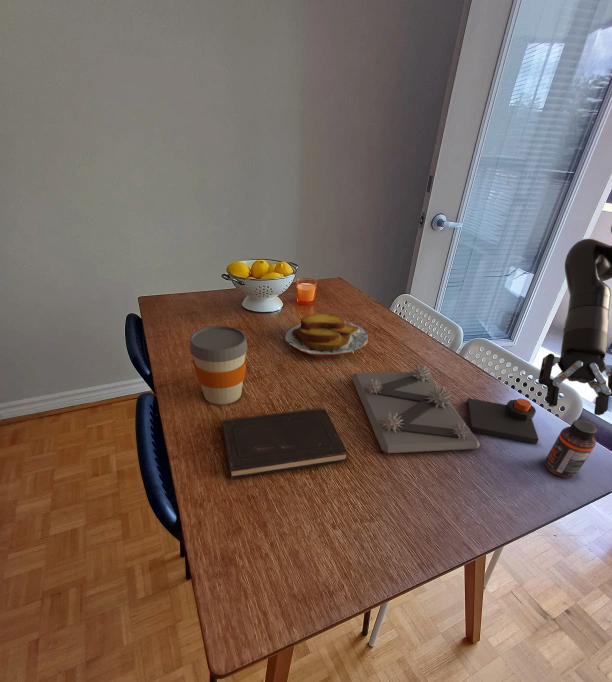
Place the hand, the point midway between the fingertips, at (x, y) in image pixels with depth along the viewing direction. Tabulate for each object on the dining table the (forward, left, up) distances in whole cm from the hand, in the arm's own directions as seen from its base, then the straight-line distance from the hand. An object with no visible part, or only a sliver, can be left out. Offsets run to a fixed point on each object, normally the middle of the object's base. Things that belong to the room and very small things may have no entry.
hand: (575, 410), depth 79 cm
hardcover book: (+56, +16, -11) cm, 59 cm away
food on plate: (+57, -33, -11) cm, 67 cm away
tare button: (+5, -11, -8) cm, 15 cm away
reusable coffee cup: (+75, +3, -11) cm, 76 cm away
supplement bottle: (0, +6, -11) cm, 12 cm away
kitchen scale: (+10, -7, -11) cm, 17 cm away
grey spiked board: (+31, -4, -11) cm, 33 cm away
